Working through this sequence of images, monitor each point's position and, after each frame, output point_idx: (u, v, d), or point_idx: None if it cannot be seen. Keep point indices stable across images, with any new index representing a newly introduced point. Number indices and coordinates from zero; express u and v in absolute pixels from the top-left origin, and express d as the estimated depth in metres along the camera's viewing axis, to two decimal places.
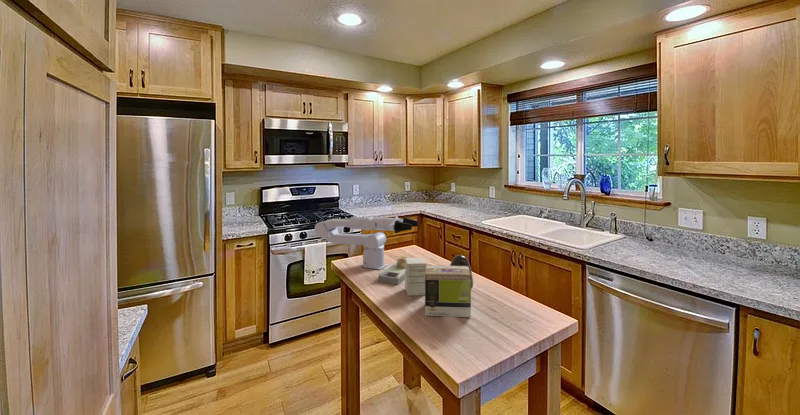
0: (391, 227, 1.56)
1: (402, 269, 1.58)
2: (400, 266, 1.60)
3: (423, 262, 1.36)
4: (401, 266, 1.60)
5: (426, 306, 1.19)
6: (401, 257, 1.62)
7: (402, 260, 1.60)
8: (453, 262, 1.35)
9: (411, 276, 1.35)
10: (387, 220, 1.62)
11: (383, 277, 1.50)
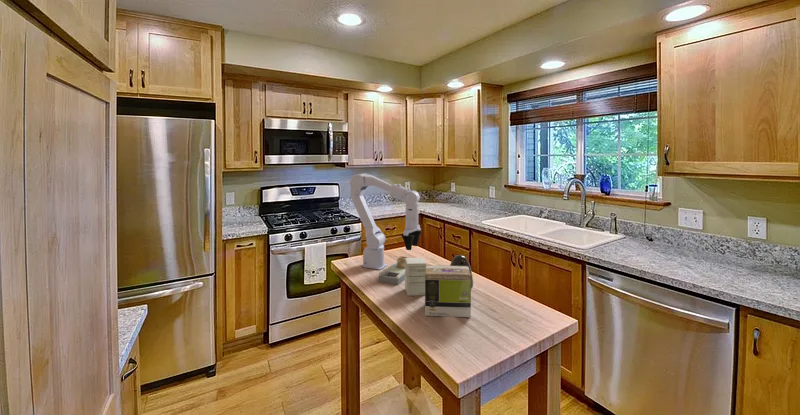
0: (405, 234, 1.56)
1: (402, 269, 1.58)
2: (400, 266, 1.60)
3: (423, 262, 1.36)
4: (401, 266, 1.60)
5: (426, 306, 1.19)
6: (401, 257, 1.62)
7: (402, 260, 1.60)
8: (453, 262, 1.35)
9: (411, 276, 1.35)
10: (414, 222, 1.59)
11: (383, 277, 1.50)
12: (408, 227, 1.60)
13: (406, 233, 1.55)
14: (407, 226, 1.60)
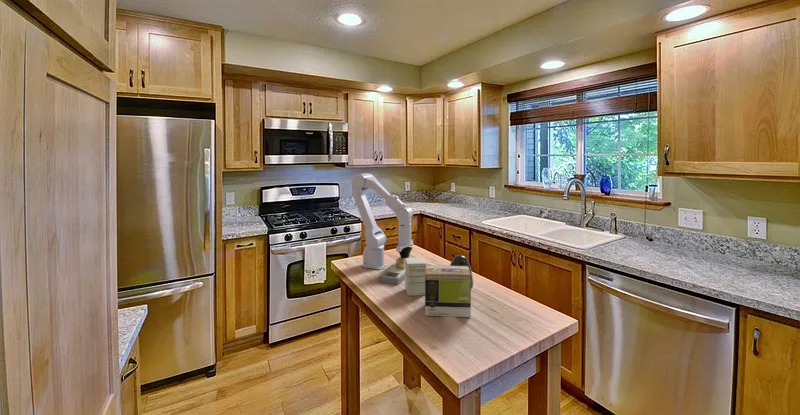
0: (398, 250, 1.56)
1: (402, 269, 1.58)
2: (399, 267, 1.59)
3: (423, 262, 1.36)
4: (400, 267, 1.59)
5: (426, 306, 1.19)
6: (400, 258, 1.61)
7: (401, 261, 1.58)
8: (453, 262, 1.35)
9: (411, 276, 1.35)
10: (407, 237, 1.59)
11: (383, 277, 1.50)
12: (401, 243, 1.60)
13: (399, 249, 1.56)
14: (400, 242, 1.60)
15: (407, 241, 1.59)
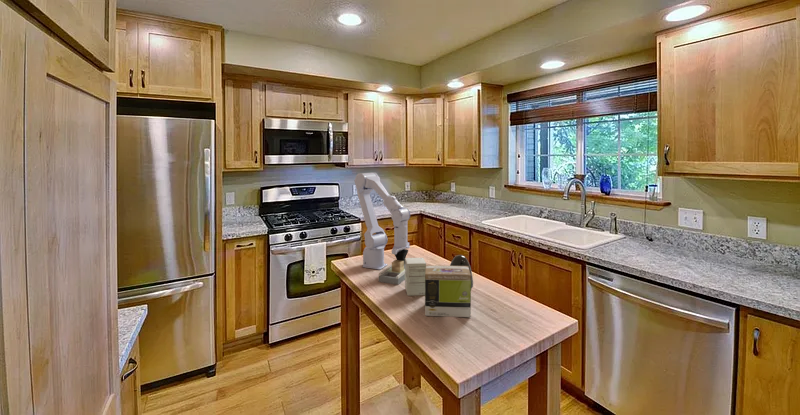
0: (394, 252, 1.52)
1: None
2: (395, 270, 1.55)
3: (423, 262, 1.36)
4: (396, 270, 1.55)
5: (426, 306, 1.19)
6: (396, 261, 1.57)
7: (397, 264, 1.54)
8: (453, 262, 1.35)
9: (411, 276, 1.35)
10: (403, 240, 1.55)
11: (383, 277, 1.50)
12: (397, 245, 1.56)
13: (394, 252, 1.52)
14: (396, 244, 1.56)
15: (403, 243, 1.55)
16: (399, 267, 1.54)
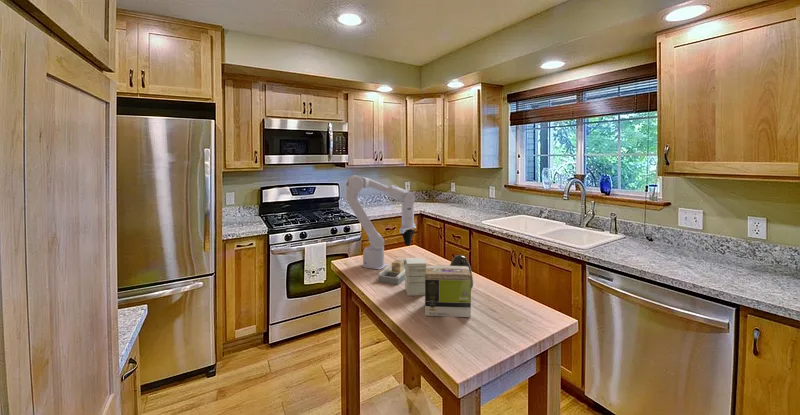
0: (401, 231, 1.64)
1: None
2: (395, 270, 1.55)
3: (423, 262, 1.36)
4: (396, 270, 1.55)
5: (426, 306, 1.19)
6: (396, 261, 1.57)
7: (397, 264, 1.54)
8: (453, 262, 1.35)
9: (411, 276, 1.35)
10: (410, 220, 1.67)
11: (383, 277, 1.50)
12: (404, 225, 1.68)
13: (402, 231, 1.64)
14: (403, 224, 1.68)
15: (410, 224, 1.68)
16: (399, 267, 1.54)
